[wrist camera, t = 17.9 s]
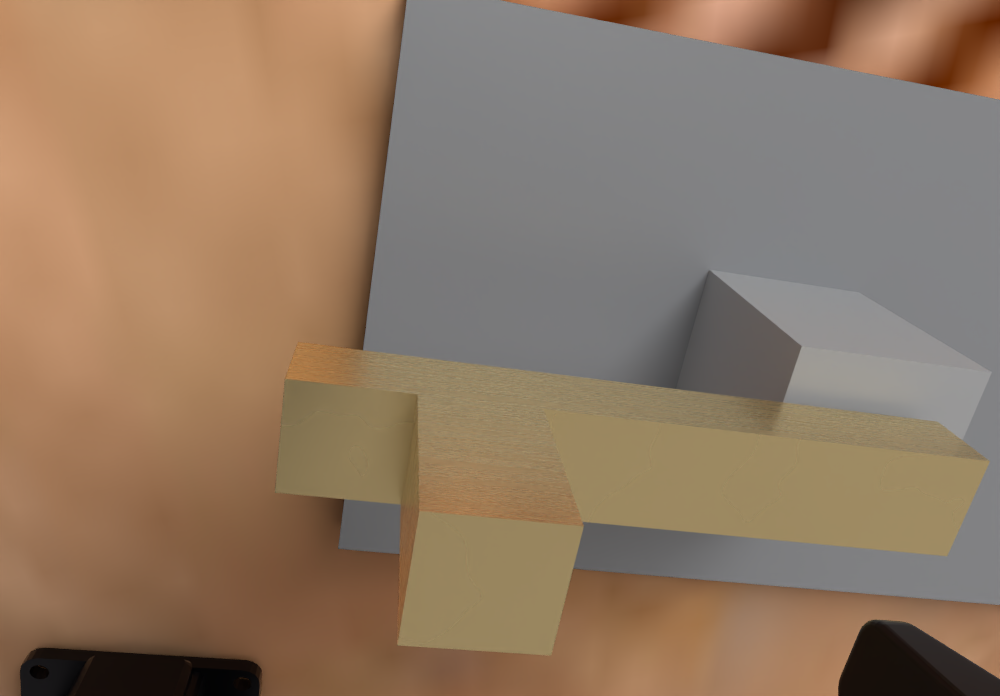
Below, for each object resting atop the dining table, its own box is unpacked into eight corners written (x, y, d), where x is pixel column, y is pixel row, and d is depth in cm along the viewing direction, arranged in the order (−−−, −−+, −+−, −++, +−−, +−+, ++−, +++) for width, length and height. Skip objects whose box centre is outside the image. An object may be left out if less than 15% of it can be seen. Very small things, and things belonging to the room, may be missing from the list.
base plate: (1084, 593, 26) (1266, 746, 21) (341, 527, 22) (318, 693, 17) (1314, 164, 21) (1634, 214, 16) (409, -16, 17) (408, -34, 12)
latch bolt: (900, 510, 16) (1082, 691, 12) (288, 446, 14) (233, 635, 10) (937, 421, 15) (1146, 579, 11) (298, 342, 13) (243, 494, 9)
